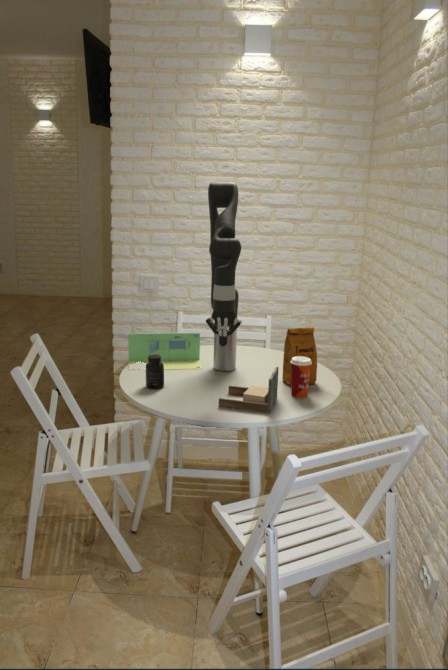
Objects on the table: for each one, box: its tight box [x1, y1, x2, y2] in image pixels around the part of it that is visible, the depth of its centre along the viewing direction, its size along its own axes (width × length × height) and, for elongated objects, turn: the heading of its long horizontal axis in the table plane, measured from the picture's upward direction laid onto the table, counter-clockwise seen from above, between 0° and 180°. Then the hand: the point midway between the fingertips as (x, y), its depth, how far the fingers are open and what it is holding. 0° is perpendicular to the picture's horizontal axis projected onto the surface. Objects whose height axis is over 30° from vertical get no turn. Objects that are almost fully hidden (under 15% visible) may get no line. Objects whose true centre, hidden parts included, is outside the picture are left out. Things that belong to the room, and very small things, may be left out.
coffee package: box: [282, 327, 318, 386], centre depth 228 cm, size 10×12×22 cm
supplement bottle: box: [145, 355, 165, 391], centre depth 221 cm, size 7×7×12 cm
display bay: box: [218, 366, 280, 414], centre depth 207 cm, size 14×18×12 cm
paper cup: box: [290, 356, 312, 399], centre depth 215 cm, size 8×8×14 cm
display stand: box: [127, 332, 203, 371], centre depth 247 cm, size 30×12×12 cm, turn 97°
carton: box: [242, 385, 269, 404], centre depth 208 cm, size 9×8×5 cm
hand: (223, 345), depth 208 cm, fingers closed
